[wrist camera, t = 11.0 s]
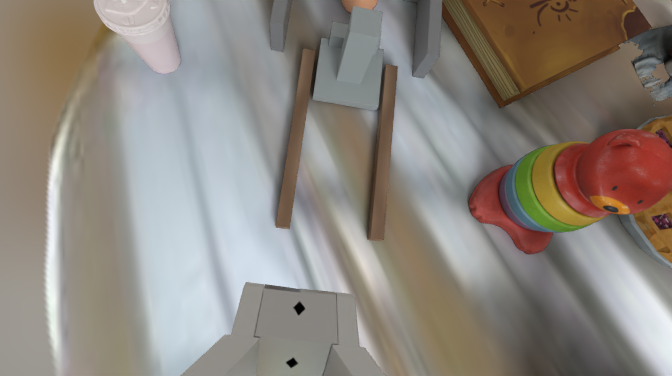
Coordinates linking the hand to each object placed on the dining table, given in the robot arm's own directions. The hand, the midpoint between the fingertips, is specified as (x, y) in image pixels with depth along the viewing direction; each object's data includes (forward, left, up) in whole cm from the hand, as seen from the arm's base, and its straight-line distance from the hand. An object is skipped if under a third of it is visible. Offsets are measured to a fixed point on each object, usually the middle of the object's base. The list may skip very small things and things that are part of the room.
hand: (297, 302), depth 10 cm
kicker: (-4, -25, -29) cm, 39 cm away
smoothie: (+18, -23, -30) cm, 42 cm away
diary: (-29, -39, -30) cm, 57 cm away
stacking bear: (-27, -12, -30) cm, 42 cm away
